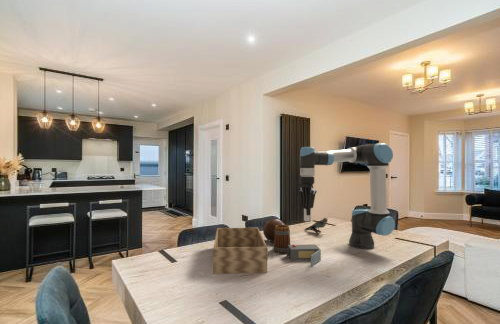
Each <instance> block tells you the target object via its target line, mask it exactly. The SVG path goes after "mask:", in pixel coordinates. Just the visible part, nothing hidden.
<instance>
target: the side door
mask: <svg viewBox="0 0 500 324" xmlns="http://www.w3.org/2000/svg"><path fill="white" fill-rule="evenodd" d="M321 250H322V249H321V248H320V249H319V250H318V251H317V252H315V253H314V254H312V255H311V260H310V266H312V267H313V266H314V265H315V264H317V263H318V262H319V261H322V251H321Z"/></svg>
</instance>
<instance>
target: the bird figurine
mask: <svg viewBox="0 0 500 324" xmlns="http://www.w3.org/2000/svg"><path fill="white" fill-rule="evenodd" d="M328 220H329V219H328V217H324V218H323V219H320V220H318V221H316V222H314V223H312V225H310V226H308V227H306V228H304V231H305V232H306V231H313V232H314V233H316V234H317V235H319V234H321V233H322V231H321V230H320V229H321V228H324V227H326V225H327V224H328Z"/></svg>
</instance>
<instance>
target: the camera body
mask: <svg viewBox="0 0 500 324" xmlns="http://www.w3.org/2000/svg"><path fill="white" fill-rule="evenodd" d="M319 249H321V248H320V247H319V246H318V245H317V244H313V243H312V244H309V243H308V244H290V245H288V248H286V256H287V257H288V256H289V257H288V258H289V259H290V261H292V262H293V261H311V255H312V254H314V253H315V252H317V251H318V250H319Z"/></svg>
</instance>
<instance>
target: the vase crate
mask: <svg viewBox="0 0 500 324" xmlns="http://www.w3.org/2000/svg"><path fill="white" fill-rule="evenodd" d="M212 250H213V253H212V256H213V257H212V261H213V263H212V274H214V275H216V274H217V275H218V274H219V275H220V274H223V275H224V274H254V273H255V274H257V273H259V274H261V273H268V246H267V243H266V242H265V239H264V237H263V235H262V232H261V231H260V229H259V227H217V228H216V232H215V237H214V244H213V249H212Z"/></svg>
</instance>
